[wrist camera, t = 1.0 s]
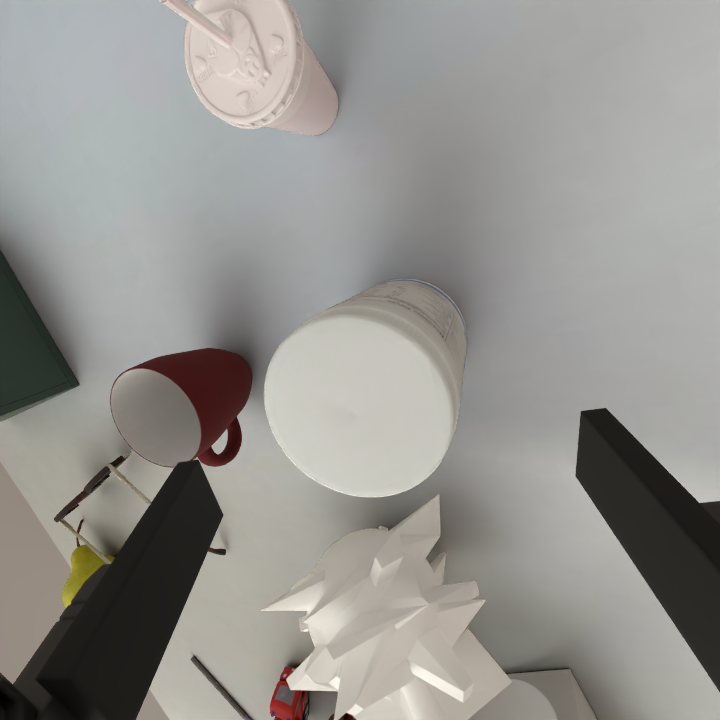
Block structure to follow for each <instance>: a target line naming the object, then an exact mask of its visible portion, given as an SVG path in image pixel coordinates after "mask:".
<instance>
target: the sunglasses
mask: <svg viewBox="0 0 720 720" xmlns="http://www.w3.org/2000/svg"><path fill="white" fill-rule="evenodd" d="M131 454H132V453H131V452H130V453H129V454H127V455H126V456H124V457H123V456H120V457H119V458H117V459H116V460H114V461H113V462H112V463H109V464H107V465H106V467H104V468H103V469H102V470H101V471H100V472H99V473H98V474H97V475H96V476H95V477H94V478H93V479H92V480H91V481H90V482H89V483H88V484H87V485H86V486H85V488H84V491H82V492H81V493H80V494H79V495H78V496H76V497H75V498H74V499H73V500H72V501H71V502H70V503H69V504H68V505H66V506H65V507H64V508H63V509H62V510H61V511H60V512H59V513H58V514H57V516H56V517H55V518H54V520H55V521H56V522H59V523H60V524H62V525H63V526H64V527H65V528H66V529H67V530H69V531H71V532H72V533H73V534H74V535H75V536H77V537H78V538H79V539H80V540H81V541H82V542H84V543H85V544H86V545H87V546H88V547H89V548H90V549H92V550H93V551H94V552H95V553H96V554H97V555H98V556H99V557H100V558H102V559H103V560H104V561H105V562H106V563H107V564H111V563H112V562H111V561H109V560H108V559H107V558H106V557H105V556H104V555H103V554H102V553H100V552H99V551H98V550H97V549H96V548H95V547H94V546H92V545H91V544H90V543H89V542H88V541H87V540H85V539H84V538H83V537H82V536H81V535H80V534H78V533H77V532H76V531H75V530H74V529H73V527H72V526H71V525H70V524H68V523H67V522H66V521H65V520H64V519H63V518H64V517H65V516H66V515H68V514H69V513H70V512H71V511H73V510H74V509H75V508H76V507H78V506H79V505H78V503H80V502H81V501H82V500H83V499H85V498H86V497H87V496H88V495H90V494H91V493H92V492H93V491H94V490H95V489H97V488H98V487H99V486H100V485H101V484H102V483H103V482H104V481H105V480H106V479H107V478H108V477H109V476H110V475H109V474H110V473H111V472H112V473H113V474H114V475H116V476H117V477H118V478H119V479H120V480H121V481H123V482H125V483H126V484H127V485H128V486H129V487H130V488H131V489H132V490H133V491H135V492H136V493H137V494H138V495H139V496H140V497H141V498H142V499H143V500H144V501H146V502H147V503H148V504H149V505H150V504H151V503H152V502H151V501H150V500H149V499H148V498H147V497H145V496H144V495H143V494H142V493H141V492H140V491H139V490H138V489H137V488H136V487H134V486H133V485H132V484H131V483H130V482H129V481H128V480H127V479H126V477H125V476H123V475H122V474H121V473H120V472H119V471H118V470H117V469H116V468H117V467H118V466H120V465H121V464H122V463H123V462H124V461H125V460H126V459H127V458H128V457H129V456H130V455H131ZM208 551H209V552H212V553H215V554H219V555H225V554H226V550H225V549H213V548H210V547H209V550H208Z"/></svg>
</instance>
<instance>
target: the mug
mask: <svg viewBox="0 0 720 720" xmlns="http://www.w3.org/2000/svg"><path fill="white" fill-rule="evenodd" d="M251 385H252V371H251V368H250V366H249V364H248V363H247V362H246V361H245V360H244V359H243V358H242V357H241V356H239V355H237V354H235V353H232V352H228V351H225V350H221V349H215V348H206V349H199V350H193V351H187V352H182V353H176V354H170V355H165V356H161V357H158V358H154V359H152V360H149V361H146V362H144V363H142V364H139V365H137V366H135V367H132V368H130V369H128V370H126V371H124V372H123V373H122V374H120V375H119V376H118V378H117V379H116V380H115V382H114V384H113V386H112V390H111V395H110V405H111V412H112V416H113V419H114V422H115V424H116V426H117V428H118V430H119V432H120V434H121V435H122V437H123V438H124V440H125V441H126V442H127V443H128V445H129V446H130V447H131V448H132V449H133V450H134V451H135V452H136V453H138V454H139V455H140V456H142V457H143V458H145V459H146V460H148V461H150V462H152V463H154V464H157V465H160V466H164V467H175V466H176V465H177V463H178V462H184V461H192V460H194V459H195V458H196V457H198V459H199V460H200V461H201V462H202V463H203V464H205V465H208V466H213V467H216V466H222V465H225V464H227V463H229V462H230V461H231V460H233V459H234V458H235V456H236V455H237V453H238V451H239V449H240V446H241V442H242V434H241V428H240V425H239V422H238V419H237V415H238V414H239V413H240V411H241V410H242V409H243V407H244V406H245V404H246V402H247V400H248V398H249V394H250V390H251ZM226 429H227V430H228V441H227V445H226V447H225V449H224V451H223V452H222V453H221V454H219V455H218V454H216V453H215V452H214V451H213V449H212V447H211V445H213V444H214V443H215V442H216V441H217V440H218V438H219V437H220V436H221V435H222V434H223V433H224V431H225V430H226Z"/></svg>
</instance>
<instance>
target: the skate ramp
mask: <svg viewBox="0 0 720 720" xmlns="http://www.w3.org/2000/svg"><path fill="white" fill-rule="evenodd" d="M506 675H507V676H508V677H509V678H510V680H511V681H512V683H511V684H509V685H508V686H507V687H506V688H505V689H503V690H502V691H501V692H500V693H499V694H498V695H496V696H495V697H494V698H493V699H492V700H490V701H489V702H488V703H487V704H486V705H484V706H483V707H482V708H481V709H480V710H478V711H477V712H476V713H475V714H474V715H473V716H471V717H470V718H469V719H468V720H597V718H596V717H595V715H594V713H593V711H592V709H591V707H590V706H589V704H588V702H587V700H586V698H585V696H584V694H583V693H582V691H581V689H580V687H579V685H578V683H577V682H576V680H575V678H574V676H573V674H572V672H571V670H570V669H564V670H551V671H539V672H527V673H514V674H506Z"/></svg>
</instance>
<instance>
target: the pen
mask: <svg viewBox="0 0 720 720" xmlns="http://www.w3.org/2000/svg"><path fill="white" fill-rule="evenodd" d="M191 661H192V662H193V663H194V664H195V665H196V667H197V668H198V669H199V670H200V671H201V672H202V673H203V674H204V675H205V676H206V678H207V679H208V680H209V681H210V682H211V683H212V684H213V685H214V686H215V688H216V689H217V690H218V691H219V692H220V693H221V694H222V695H223V696H224V698H225V699H226V700H227V701H228V702H229V703H230V704H231V705H232V706H233V708H234V709H235V710H236V711H237V712H238V713H239V715H240V716H241V717H242V718H243V719H244V720H251V719H250V718H249V717H248V716H247V715H246V714H245V713H244V712H243V710H242V709H241V708H240V707H239V706H238V705H237V704H236V703H235V702H234V700H233V699H232V698H231V697H230V696H229V695H228V694H227V693H226V692H225V690H224V689H223V688H222V687H221V686H220V685H219V684H218V683H217V682H216V680H215V679H214V678H213V677H212V676H211V675H210V674H209V673H208V672H207V670H206V669H205V668H204V667H203V666H202V665H201V664H200V663H199V662H198V660H197V659H196V658H195V657H194V656H193V657H192V658H191Z"/></svg>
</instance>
